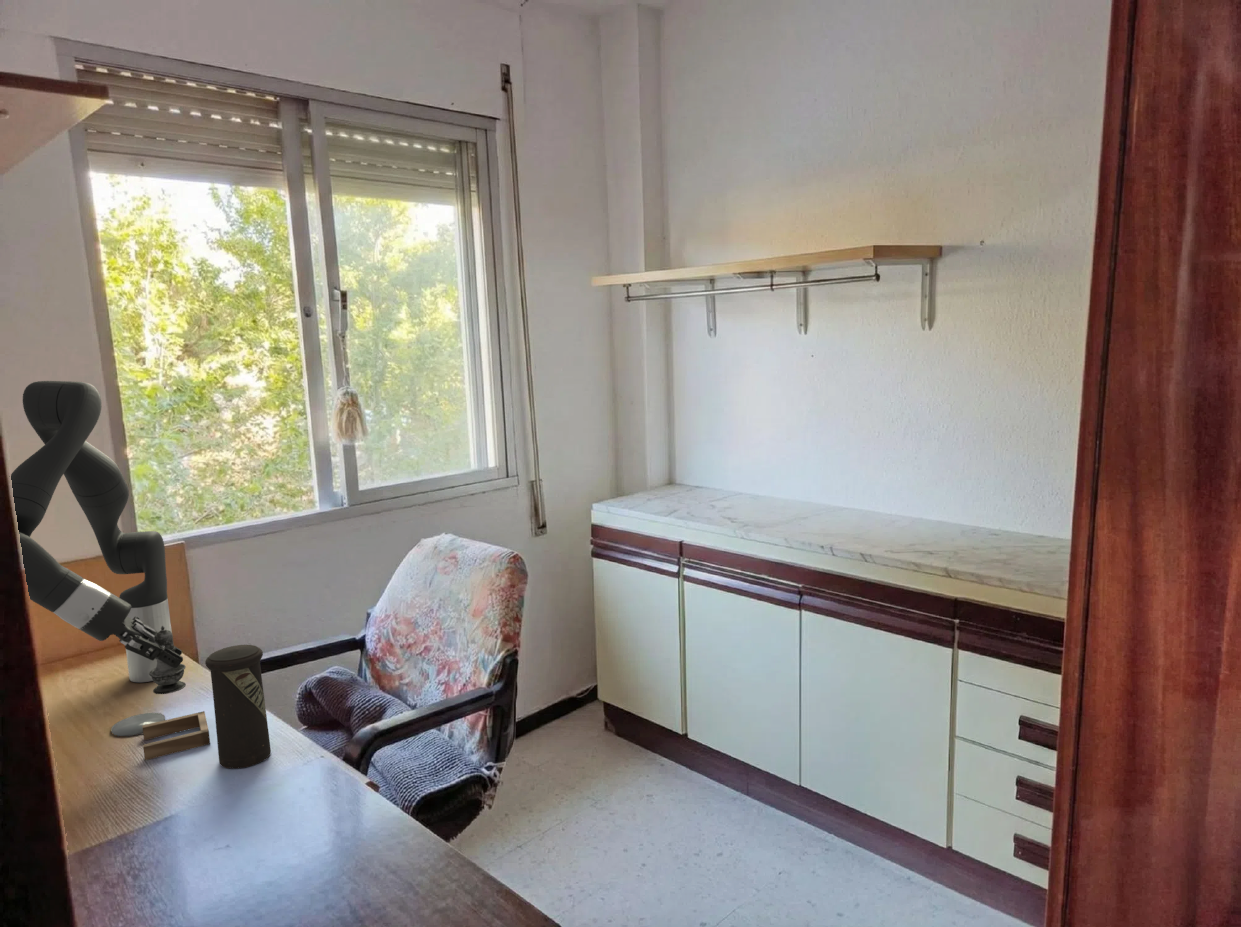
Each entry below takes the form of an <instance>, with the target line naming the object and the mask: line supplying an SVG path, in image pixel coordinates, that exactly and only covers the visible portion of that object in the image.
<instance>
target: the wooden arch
mask: <svg viewBox="0 0 1241 927" xmlns="http://www.w3.org/2000/svg"><path fill="white" fill-rule="evenodd" d="M197 728H199V730H198V731H194V732H189V733H185V734H182V735H176V736H173V737H170V738H169V737H168V738H165V739H161V740H157V741H153V742H148V743H145V744H142V749H143V757H144V761H148V760H153V759H157V758H161V757H166V756H169V755H173V754H176V753H180V752H184V751H188V750H192V749H196V748H201V747H204V746H208V745H210V744H211V739H210V731H209V730H210V729H209V726H208V721H207V718H206V711H205V710H203V711H199V712H194V713H192V714H187V715H182V716H177V717H174V718H173V717H172V718H168V719H165V720H164V721H160V722H155V723H151V724H147V725H143V734H142V735H143V740H144V741H147V740H152V739H157V738H160V737H164V736H168V735H172V734H176V733H175V732H177V733H181V732H184V730H186V731H189V730H188V729H190V730H193V729H197ZM180 731H181V732H180ZM156 737H157V738H156Z"/></svg>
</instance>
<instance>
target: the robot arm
mask: <svg viewBox="0 0 1241 927" xmlns="http://www.w3.org/2000/svg"><path fill="white" fill-rule="evenodd" d="M99 392H100V391H99V390H98V389H97V388H96V386H94V385H93V384H91V383H88V382H84V381H83V382H82V381H69V380H68V381H67V380H66V381H65V380H64V381H63V380H40V381H33V382H31V383H30V384H28V385H27V386H26V387H25V389H24V390H23V392H22V407H23V411H24V414H25V416H26V419H27V421H28V422H29V424H30V426H31V427H32V428H33V430H34V431H35V433H36V434H37V435H38V437H39V438H40V440H41V441H42V443H43V444H44V445H43V446H42V447H40V448H39V449H38V450H37V451H36V452H34V453H33V454H32V455H30V456H29V457H28V458H27V459H25V460H24V461H23V462H21V463H20V464H19V465H18V466H17V467H16V468H15V469H14V470H13V472H11V473H10V475H11V480H12V488H13V497H14V503H15V511H16V515H17V522H18V530H19V534H20V543H21V547H22V555H23V564H24V568H25V574H26V582H27V585H28V592H29V596H30V599H29V600H30V601H32V602H34V603H36V604H37V605H39V606H41V607H42V608H44V609H46V610H48V611H50V612H51V613H53V614H55V615H56V616H57V617H58V618H60V619H61V620H63V621H64V622H65V623H67V624H70V625H71V626H72V627H74V628H76V629H78V630H80V631H81V632H83V633H84V634H87V635H88V636H90V637H92V638H94V639H95V640H97V641H99V642H103V641H106V640H107V639H108V638H109V637H110V636H113V635H114V636H115V637H117V638H118V639H119V640H118V641H119V642H120V643H121V644H123V645H124V648H125V653H126V661H127V664H126V665H127V669H128V670H127V671H128V679H129V681H131V682H132V683H147V682H154V681H153V680H152V677H151V676H150V675H149V672H150V671H151V670H153V669H154V668H156V666H157V659H159V660H161V661H162V662H164V663H166V664H168V665H169V666H171V667H173V668H177V667H178V666H179V665H180V664H182V663H183V661H184V658H183V656H181V655H182V654H183V651H182V649H180V648H178V647H177V646H175V647H176V650H175V652H173V651H172V650H170V649H168V648H166V647H165V645H162V644H161V643H159V642H158V641H156V637H155V635H156V633H158V632H159V631H160V630H161V627H162V626H164V627H165V628H164V630H169V631H171V632H172V625H171V615H170V606H169V600H168V598H169V597H168V579H167V567H166V566H167V565H166V547H165V542H164V538H163V537H162V534H161V533H159V532H158V531H156V530H149V531H135V532H134V531H133V532H123V531H121V529H120V527H119V526H118V522H119V520H120V517H121V515H122V513H123V512H124V509H125V508H126V505H127V503H128V502H129V496H130V490H129V487H128V484H127V482H126V479H125V478H124V475H123V473H122V470H121V469H120V468H119V466H118V464H117V463H116V462H115V461H114V460H113V459H112V458H111V457H109V456H108V455H107V454H106V453H104V452H103V451H102V450H100V449H98V447H95V446H94V445H92V444H91V443H90V442H88V441H87V439H88V438H89V436H90V434H91V433H92V432H93V430H94V428H95V427H96V425H97V423H98V421H99V418H100V416H101V413H102V398H101V395H100V393H99ZM63 476H64V477H65V480H66V482H67V484H68V486H69V488H70V490H71V492H72V494H73V496H74V498H75V499H76V501H77V503H78V505H79V507H80V508H81V509H82V511H83V513H84V515H85V517H86V519H87V521H88V522H89V524H90V526H91V529H92V530H93V532H94V535H95V537H96V540H97V543H98V546H99V549H100V551H101V553H102V554H101V555H102V556H103V558H104V561H105V563H106V566H107V568H109V570H110V571H111V572H112V573H113V574H116V575H131V574H133V575H135V574H144V579H143V581H142V582H140V583H139V584H137V585H134V586H132V587H129V588H126V589H125V590H123V591H122V592H121V593H120V594H119V597H118V596H117V595H116V594H114V593H112V592H110V591H109V590H107V589H105V588H104V587H102V586H101V585H99V584H97V583H95V582H92V581H91V580H87V579H86V578H83V576H81V575H80V574H78V573H76V572H74V571H72V570H71V569H69V568H67V567H65V566H64V565H62V564H60V563H59V561H57V560H56V559H55V557H54V556H52V554H50V553H49V552H48V551H47V550H46V549H45V548H44V547H43V546H41V544H39V543H38V542H37V541H36V540H35V539H33V538H32V537H31V536H32V534H33V533H34V531H35V530H36V528H38V526H39V525H40V524H41V522H42V521H43V519H44V518H45V515H46V513H47V510H48V507H49V505H50V503H51V501H52V498H53V497H54V496H53V495H54V493H55V491H56V489H57V487H58V485H59V482H60V480H61V479H62V477H63ZM172 633H173V632H172Z"/></svg>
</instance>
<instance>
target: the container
mask: <svg viewBox="0 0 1241 927" xmlns="http://www.w3.org/2000/svg"><path fill="white" fill-rule="evenodd" d="M263 656H264V652H263V650H262V648H260V647H258V646H257V645H255V644H253V645H252V644H239V645H238V644H237V645H232V646H227V647H224V648H220V649H218V650H216V651H214V652H212V653H211V654H210V655H209V656H208V657H206V659H205V661H204V664H205V667H206V668H207V669H208V670H209V671H210V678H211V685H212V686H211V687H212V699H213V709H214V718H215V729H216V731H215V732H216V740H217V741H216V742H217V751H218V752H217V754H218V761H219V764H220V766H221V767H223V768H226V769H244V768H248V767H252V766H256V765H258V764H260V763H261V762H264V761H266V760H268V759H269V757H270V755H271V754H272V750H271V742H270V733H269V732H270V731H269V726H268V724H269V723H268V717H267V710H266V702H265V701H266V700H265V694H264V686H263V676H262V669H261V660H262V658H263Z"/></svg>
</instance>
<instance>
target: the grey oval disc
mask: <svg viewBox="0 0 1241 927" xmlns="http://www.w3.org/2000/svg"><path fill="white" fill-rule="evenodd" d="M164 720H166V716H165V714H163V713H162V712H161V713H160V712H147V713H146V712H145V713H139V714H136V715H131V716H128V717H126V718H123V719H121V720H119V721H117V722H116V723H114V724H113V725H112V726H111V729H110V730H111V731H110V732H111V734H112V733H113V734H114V735H113V734H112V735H113V736H115V735H117V736H116V737H119V736H127V737H134V736H133V735H135V736H138V735H137V734H139V735H142V734H141V733H143V725H147V724H151V723H155V722H160V721H164Z"/></svg>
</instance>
